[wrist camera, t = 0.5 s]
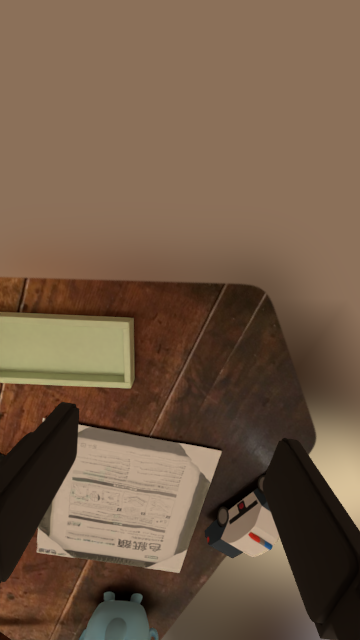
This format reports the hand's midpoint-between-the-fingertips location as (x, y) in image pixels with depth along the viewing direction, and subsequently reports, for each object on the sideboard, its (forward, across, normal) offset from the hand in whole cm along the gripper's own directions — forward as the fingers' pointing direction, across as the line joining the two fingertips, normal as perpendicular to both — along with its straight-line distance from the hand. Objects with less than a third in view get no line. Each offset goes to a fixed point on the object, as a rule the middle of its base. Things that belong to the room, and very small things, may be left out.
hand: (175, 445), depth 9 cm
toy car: (+16, -16, +26) cm, 34 cm away
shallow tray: (+16, +15, +5) cm, 22 cm away
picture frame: (+16, +4, +31) cm, 35 cm away
